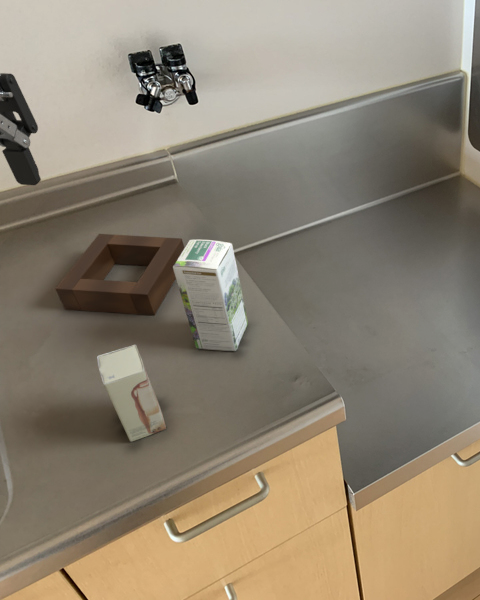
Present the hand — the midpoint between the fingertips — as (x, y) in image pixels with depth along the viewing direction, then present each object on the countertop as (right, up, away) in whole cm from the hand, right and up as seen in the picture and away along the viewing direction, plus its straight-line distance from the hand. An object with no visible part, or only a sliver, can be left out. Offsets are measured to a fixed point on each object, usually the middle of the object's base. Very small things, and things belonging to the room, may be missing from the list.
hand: (4, 206), depth 58 cm
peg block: (-4, -6, +35) cm, 36 cm away
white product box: (+7, -24, +15) cm, 29 cm away
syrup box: (+13, -14, +26) cm, 33 cm away
